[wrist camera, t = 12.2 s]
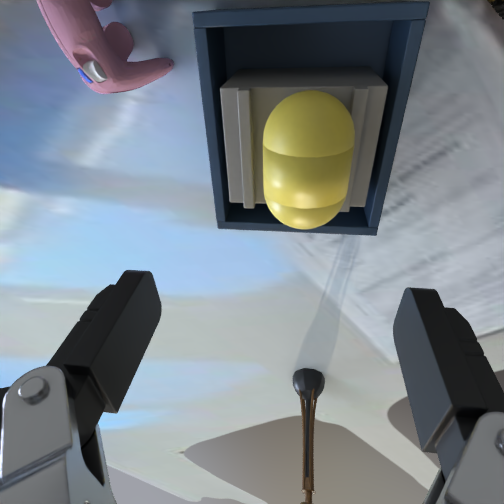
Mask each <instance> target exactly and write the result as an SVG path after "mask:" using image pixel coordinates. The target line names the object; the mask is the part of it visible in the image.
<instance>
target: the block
mask: <svg viewBox="0 0 504 504" xmlns="http://www.w3.org/2000/svg"><path fill="white" fill-rule="evenodd" d="M306 90H317V91H321V92H325V93H328V94H330V95H332V96H334V97H335V98H337V99H338V100H339V101H340V102H341V103H342V104H343V105H344V106H345V107H346V109H347V110H348V112H349V113H350V115H351V118H352V120H353V123H354V130H355V141H354V142H355V143H354V150H353V157H352V163H351V170H350V177H349V183H348V190H347V195H346V199H345V201H344V203H343V205H342V207H341V209H340V211H339V212H349V209H350V206H357V207H365V204H366V199H367V193H368V188H369V183H370V178H371V173H372V168H373V162H374V157H375V152H376V147H377V142H378V136H379V131H380V126H381V121H382V116H383V110H384V105H385V100H386V95H387V90H388V85H387V84H386V83H385V82H384V81H383V80H382V79H381V78H380V77H379V76H378V75H377V74H376V73H375V71H374V70H373V69H372V68H371V67H323V68H274V69H239V70H238V71H237V72H236V73H235V74H234V75H233V76H232V77H231V78H230V79H229V80H228V81H227V82H226V83H225V84H224V85H223V86H222V87H221V88H220V94H221V106H222V117H223V129H224V140H225V152H226V163H227V174H228V186H229V197H230V202H238V203H244V208H254V207H255V203H266V200H265V197H264V186H263V134H264V128H265V125H266V122H267V120H268V118H269V116H270V114H271V113H272V111H273V110H274V109H275V107H276V106H277V105H278V104H279V103H280V102H281V101H283V100H284V99H285V98H287V97H289V96H290V95H292V94H294V93H298V92H301V91H306Z"/></svg>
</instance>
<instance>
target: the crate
mask: <svg viewBox="0 0 504 504" xmlns="http://www.w3.org/2000/svg"><path fill="white" fill-rule="evenodd" d="M429 4H430V2H428V1H402V2H380V3H358V4H335V5H313V6H291V7H269V8H247V9H224V10H209V11H198V12H193V13H192V17H193V25H194V35H195V43H196V52H197V60H198V69H199V77H200V85H201V94H202V102H203V110H204V119H205V127H206V136H207V144H208V152H209V161H210V169H211V177H212V186H213V194H214V202H215V211H216V219H217V227H218V229H236V230H259V231H281V232H303V233H326V234H348V235H371V236H376V235H377V230H378V226H379V222H380V217H381V213H382V209H383V204H384V200H385V196H386V191H387V187H388V183H389V178H390V174H391V170H392V165H393V161H394V157H395V152H396V148H397V143H398V139H399V135H400V130H401V126H402V122H403V117H404V113H405V109H406V104H407V100H408V96H409V91H410V87H411V83H412V78H413V74H414V70H415V65H416V61H417V57H418V52H419V48H420V44H421V39H422V35H423V30H424V26H425V22H426V20H425V19H426V17H427V13H428V9H429ZM323 67H371V68H372V69H373V70H374V71H375V73H376V74H377V75H378V76H379V77H380V78H381V79H382V80H383V81H384V82H385V83H386V84H387V85H388V90H387V95H386V100H385V105H384V110H383V116H382V121H381V126H380V131H379V136H378V142H377V147H376V152H375V157H374V162H373V168H372V173H371V178H370V183H369V188H368V193H367V199H366V204H365V207H357V206H350V209H349V212H338V213H337V214H336V216H335V217H334V218H333V219H331V220H330V221H329V222H327V223H326V224H324V225H322V226H319V227H316V228H312V229H296V228H292V227H290V226H287V225H285V224H283V223H282V222H280V221H279V220H278V219H277V218H276V217H275V216H274V215H273V214H272V213H271V211H270V209H269V208H268V206H267V203H255V207H254V208H244V203H238V202H230V197H229V186H228V174H227V163H226V152H225V140H224V129H223V117H222V106H221V94H220V88H221V87H222V86H223V85H224V84H225V83H226V82H227V81H228V80H229V79H230V78H231V77H232V76H233V75H234V74H235V73H236V72H237V71H238V70H239V69H274V68H323Z"/></svg>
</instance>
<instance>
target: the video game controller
mask: <svg viewBox="0 0 504 504" xmlns="http://www.w3.org/2000/svg"><path fill="white" fill-rule="evenodd" d="M37 3H38V5H39V8H40V10H41V12H42V15H43V17H44V19H45V21H46V23H47V25H48V27H49V29H50V31H51V33H52V34H53V36H54V38H55V39H56V41H57V43H58V45H59V46H60V48H61V49H62V50H63V52H64V53H65V55H66V56H67V58H68V59H69V60H70V62H71V63H72V64H73V65H74V66H75V68H76V69H77V70H78V71H79V73H80V76H81V78H82V79H83V81H84V82H85V83H86V84H87V85H88V86H89V87H90V88H91V89H92V90H94V91H95V92H98V93H100V94H110V93H118V92H125V91H130V90H133V89H137V88H140V87H142V86H144V85H146V84H149V83H151V82H152V81H154V80H156V79H158V78H160V77H162V76H164V75H166V74H167V73H168V72H170V71H171V69H172V68H173V66H174V62H173V61H172V60H171V59H168V58H155V59H150V60H145V61H140V62H127V59H128V57H129V55H130V53H131V52H132V50H133V46H134V44H133V39H132V36H131V34H130V32H129V31H128V30H127V28H126V27H125V26H124V25H122V24H121V23H118V22H112V23H110V24H108V25H106V26H104V27H103V28H102V26H101V24H100V22H99V20H98V17H97V15H96V13H95V11H100V10H102V9H104V8H107V7H109V6H110V5H111V3H112V0H37Z"/></svg>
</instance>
